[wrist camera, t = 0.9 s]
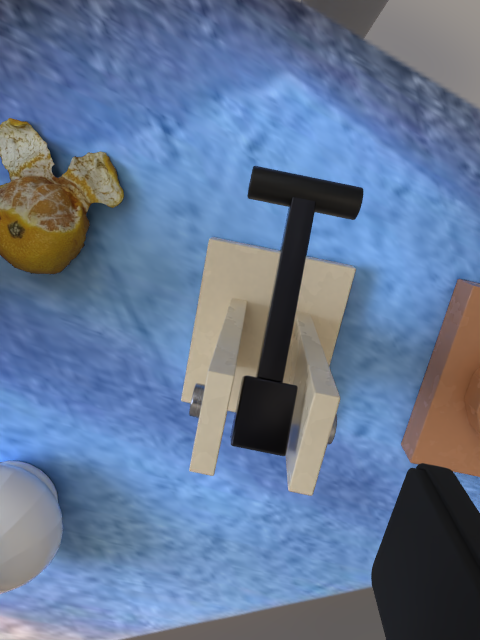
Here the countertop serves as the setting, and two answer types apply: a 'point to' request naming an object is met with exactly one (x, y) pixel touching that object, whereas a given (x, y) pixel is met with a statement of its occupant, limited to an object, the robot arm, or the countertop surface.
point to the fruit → (48, 200)
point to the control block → (451, 391)
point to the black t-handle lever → (284, 304)
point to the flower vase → (26, 523)
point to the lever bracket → (245, 346)
